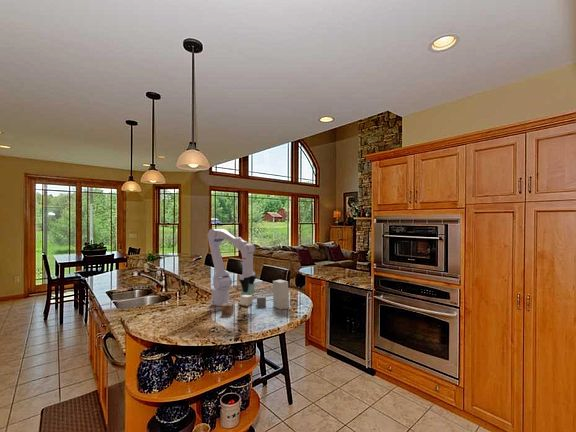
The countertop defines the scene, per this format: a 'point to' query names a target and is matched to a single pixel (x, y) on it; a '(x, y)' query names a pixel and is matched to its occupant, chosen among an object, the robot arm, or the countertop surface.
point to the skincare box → (280, 294)
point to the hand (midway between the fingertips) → (247, 290)
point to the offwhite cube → (246, 300)
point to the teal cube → (249, 290)
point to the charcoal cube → (261, 301)
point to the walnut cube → (227, 308)
